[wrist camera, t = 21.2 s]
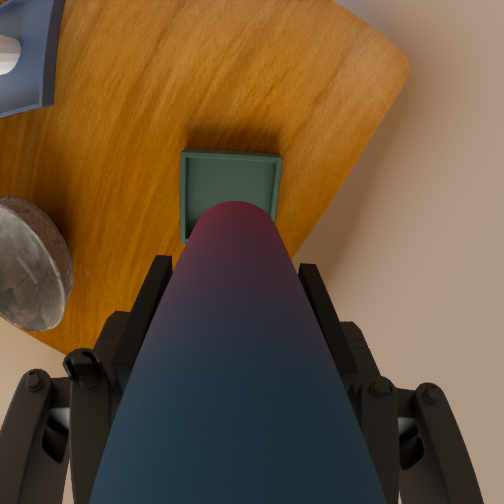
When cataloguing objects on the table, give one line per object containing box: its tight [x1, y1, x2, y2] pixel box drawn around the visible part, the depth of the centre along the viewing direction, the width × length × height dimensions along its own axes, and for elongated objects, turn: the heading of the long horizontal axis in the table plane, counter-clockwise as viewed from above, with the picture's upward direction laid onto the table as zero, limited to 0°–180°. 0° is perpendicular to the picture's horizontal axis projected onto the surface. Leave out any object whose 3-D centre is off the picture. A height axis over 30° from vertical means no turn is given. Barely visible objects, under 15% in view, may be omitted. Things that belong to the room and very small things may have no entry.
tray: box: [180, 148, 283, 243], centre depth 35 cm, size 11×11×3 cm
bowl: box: [0, 196, 74, 332], centre depth 33 cm, size 21×21×10 cm
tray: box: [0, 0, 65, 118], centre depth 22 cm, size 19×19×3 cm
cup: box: [89, 201, 387, 504], centre depth 11 cm, size 7×7×15 cm
